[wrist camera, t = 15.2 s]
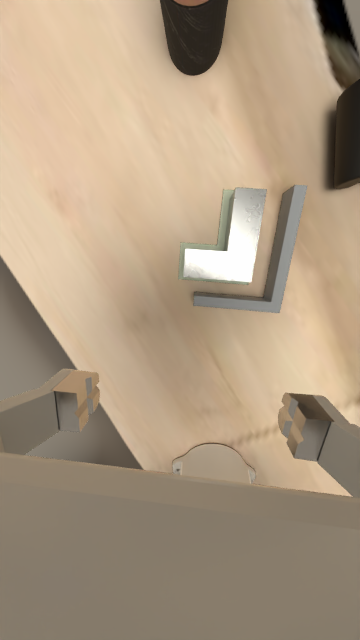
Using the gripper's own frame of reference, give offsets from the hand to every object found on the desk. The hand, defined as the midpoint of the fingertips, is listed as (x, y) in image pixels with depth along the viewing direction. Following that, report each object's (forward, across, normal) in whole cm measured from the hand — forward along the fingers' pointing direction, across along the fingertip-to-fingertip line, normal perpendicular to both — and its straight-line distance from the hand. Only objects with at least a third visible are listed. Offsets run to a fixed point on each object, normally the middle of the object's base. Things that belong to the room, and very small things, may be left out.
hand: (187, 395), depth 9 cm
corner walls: (+29, -7, -7) cm, 31 cm away
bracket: (+29, -3, -9) cm, 30 cm away
